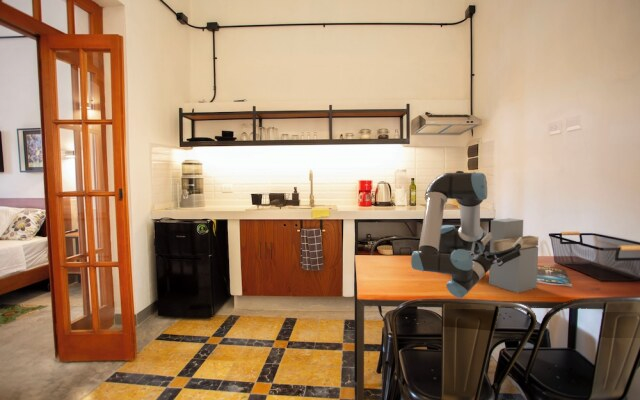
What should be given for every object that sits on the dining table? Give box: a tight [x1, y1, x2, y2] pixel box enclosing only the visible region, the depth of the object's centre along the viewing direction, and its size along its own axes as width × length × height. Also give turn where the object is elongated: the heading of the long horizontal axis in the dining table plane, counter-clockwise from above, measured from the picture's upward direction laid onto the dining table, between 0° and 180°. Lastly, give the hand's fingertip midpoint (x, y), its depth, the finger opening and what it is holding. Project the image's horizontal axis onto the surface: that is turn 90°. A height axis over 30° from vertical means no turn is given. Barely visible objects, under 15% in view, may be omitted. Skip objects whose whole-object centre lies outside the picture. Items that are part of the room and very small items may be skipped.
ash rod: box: [493, 235, 539, 252], centre depth 143 cm, size 4×26×4 cm, turn 118°
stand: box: [488, 217, 539, 294], centre depth 149 cm, size 14×14×30 cm
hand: (505, 237), depth 140 cm, fingers open, 13 cm apart
